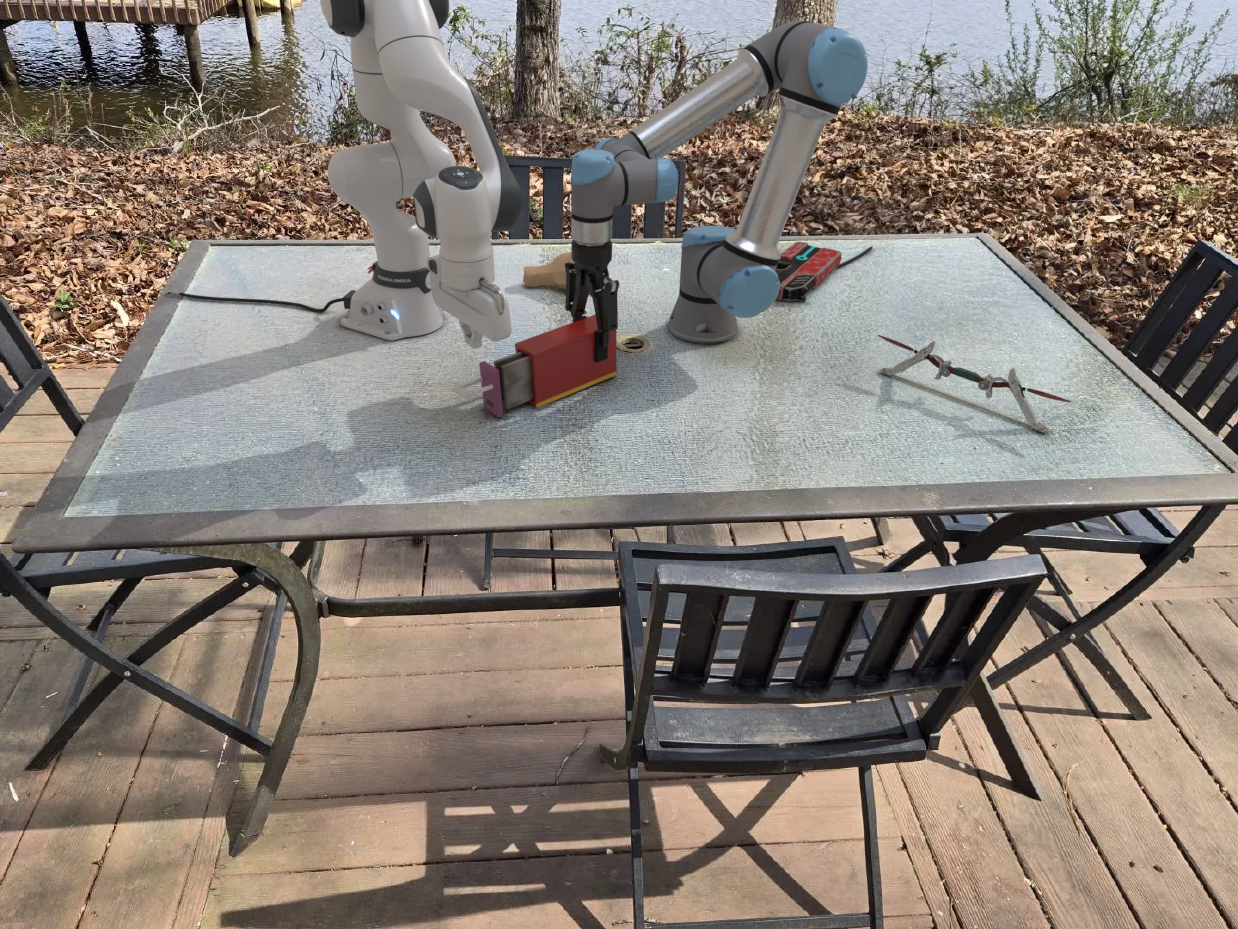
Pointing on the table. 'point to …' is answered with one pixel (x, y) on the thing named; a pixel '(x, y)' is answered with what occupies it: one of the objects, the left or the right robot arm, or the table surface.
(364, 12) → the left robot arm
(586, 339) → the red yellow-edged box
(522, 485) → the table surface
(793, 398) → the table surface
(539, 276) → the squash
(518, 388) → the drawer
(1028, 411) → the bow
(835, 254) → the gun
